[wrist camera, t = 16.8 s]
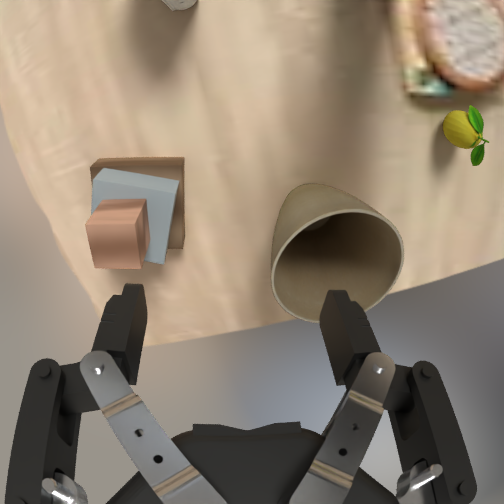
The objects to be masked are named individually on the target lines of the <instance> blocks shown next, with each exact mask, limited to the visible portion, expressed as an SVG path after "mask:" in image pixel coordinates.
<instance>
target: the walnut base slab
mask: <svg viewBox="0 0 504 504" xmlns="http://www.w3.org/2000/svg"><path fill="white" fill-rule="evenodd" d="M103 168H108V169H114V170H121V171H127V172H133V173H139V174H144V175H150V176H156V177H161V178H167V179H172V180H178V181H179V185H178V190H177V196H176V201H175V207H174V212H173V218H172V224H171V230H170V236H169V242H168V248H171V249H183V244H184V238H185V219H184V157H133V158H104V159H98V160H97V161H96V162H95V163H94V164H93V165H92V166H91V167H90V171H91V181H92V188H93V179H94V178H95V177H96V176H97V174H98V173H99V172H100V171H101V170H102V169H103Z"/></svg>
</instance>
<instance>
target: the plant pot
mask: <svg viewBox="0 0 504 504" xmlns="http://www.w3.org/2000/svg"><path fill="white" fill-rule="evenodd" d="M403 261H404V246H403V241H402V238H401V236H400V234H399V232H398V230H397V229H396V227H395V226H394V225H393V224H392V223H391V222H390V221H389V220H388V219H386V218H385V217H384V216H382V215H381V214H380V213H378V212H377V211H376V210H374V209H373V208H372V207H370V206H369V205H367V204H366V203H364V202H362V201H361V200H359V199H357V198H356V197H354V196H352V195H350V194H348V193H346V192H343V191H341V190H338V189H336V188H333V187H329V186H325V185H320V184H304V185H301V186H299V187H297V188H295V189H294V190H292V191H291V192H290V193H289V195H288V196H287V198H286V199H285V201H284V203H283V205H282V208H281V210H280V213H279V216H278V219H277V223H276V227H275V232H274V237H273V244H272V256H271V286H272V291H273V294H274V296H275V298H276V300H277V302H278V303H279V304H280V306H281V307H282V308H283V309H284V310H285V311H286V312H288V313H289V314H291V315H292V316H294V317H296V318H299V319H301V320H304V321H308V322H314V323H319V318H320V313H321V310H322V307H323V304H324V301H325V298H326V295H327V292H328V290H346V291H347V293H348V295H349V298H350V300H351V301H356V302H357V303H358V304H359V305H360V306H361V307H362V308H363V309H364V312H366V311H367V310H369V309H370V308H372V307H373V306H375V305H376V304H377V303H379V302H380V300H382V299H383V298H384V297H385V296H386V295H387V294H388V292H389V291H390V290H391V289H392V287H393V286H394V284H395V283H396V281H397V279H398V277H399V275H400V272H401V269H402V266H403Z"/></svg>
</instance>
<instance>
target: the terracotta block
mask: <svg viewBox="0 0 504 504" xmlns="http://www.w3.org/2000/svg"><path fill="white" fill-rule="evenodd" d="M85 226H86V231H87V236H88V241H89V245H90V249H91V254H92V258H93V262H94V266H95V268H110V269H141V268H142V265H143V262H144V258H145V255H146V252H147V249H148V246H149V243H150V240H151V239H150V231H149V221H148V211H147V200H146V199H110V200H102V201H101V202H100V204H99V205H98V207H97V208H96V209H95V211H94V212H93V214H92V215H91V217H90V218H89V220H88V221H87V223H86V224H85Z"/></svg>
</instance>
